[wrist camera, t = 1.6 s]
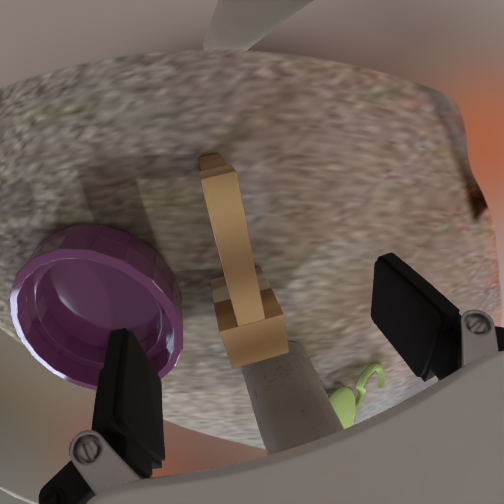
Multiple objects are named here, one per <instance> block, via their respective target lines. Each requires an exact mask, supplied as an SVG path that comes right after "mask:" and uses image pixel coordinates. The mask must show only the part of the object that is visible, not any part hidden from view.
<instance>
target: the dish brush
mask: <svg viewBox="0 0 504 504" xmlns="http://www.w3.org/2000/svg"><path fill="white" fill-rule="evenodd" d="M198 161H199V165H200V169H201V171H200V172H199V176H200V181H201V185H202V189H203V193H204V197H205V201H206V205H207V209H208V214H209V218H210V222H211V226H212V230H213V234H214V237H215V241H216V245H217V249H218V253H219V257H220V261H221V265H222V268H223V272H224V276H222V277H218V278H215V279H211V280H210V285H211V290H212V296H213V301H214V306H215V311H216V316H217V321H218V326H219V331H220V334H221V337H222V340H223V343H224V346H225V349H226V352H227V354H228V357H229V360H230V363H231V366H232V368H235V367H239V366H243V365H247V364H250V363H254V362H258V361H261V360H265V359H268V358H272V357H275V356H278V355H282V354H285V353H288V352H289V349H288V341H287V334H286V327H285V319H284V313H283V311H282V309H281V307H280V305H279V303H278V301H277V299H276V297H275V295H274V293H273V291H272V289H271V287H270V285H269V283H268V281H267V279H266V276H265V274H264V272H263V270H262V268H261V267H256V268H255V265H254V259H253V254H252V249H251V244H250V239H249V234H248V229H247V224H246V219H245V213H244V208H243V203H242V198H241V193H240V188H239V183H238V178H237V173H236V171H235V169H234V168H233V167H232V166H231V165H227V164H226V163H225V162H224V160H223V159H222V158H221V156H220V155H219V154H218V153H216V154H211V155H207V156H203V157H199V158H198Z"/></svg>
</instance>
